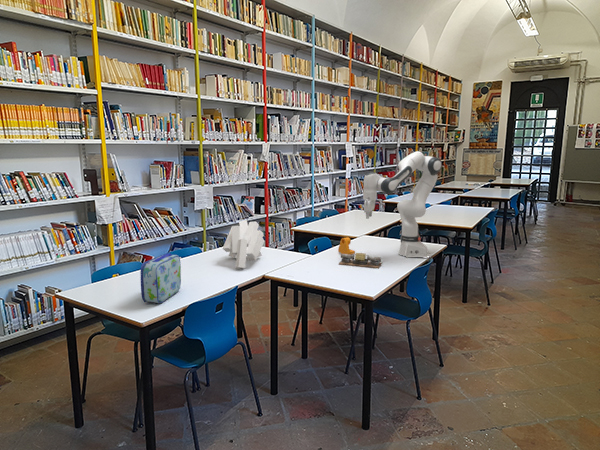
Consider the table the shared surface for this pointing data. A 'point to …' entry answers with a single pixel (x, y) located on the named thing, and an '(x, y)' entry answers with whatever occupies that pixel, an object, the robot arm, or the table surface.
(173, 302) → the table surface
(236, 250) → the pile of blocks
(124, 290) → the table surface
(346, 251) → the orange toy figure
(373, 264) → the shaft bench
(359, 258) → the coupler
